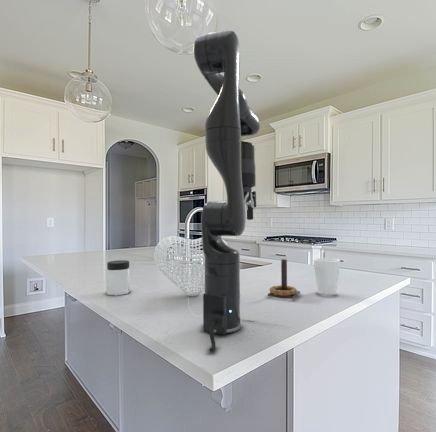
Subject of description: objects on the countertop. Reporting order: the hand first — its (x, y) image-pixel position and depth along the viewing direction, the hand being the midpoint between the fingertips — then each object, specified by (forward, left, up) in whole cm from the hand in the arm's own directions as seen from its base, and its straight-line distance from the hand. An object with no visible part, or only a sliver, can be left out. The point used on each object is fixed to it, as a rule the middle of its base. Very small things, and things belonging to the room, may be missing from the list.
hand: (244, 219), depth 106 cm
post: (+12, -10, -28) cm, 32 cm away
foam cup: (+22, -23, -28) cm, 43 cm away
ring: (+11, -10, -26) cm, 30 cm away
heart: (-3, +20, -28) cm, 35 cm away
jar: (-13, +48, -28) cm, 57 cm away
